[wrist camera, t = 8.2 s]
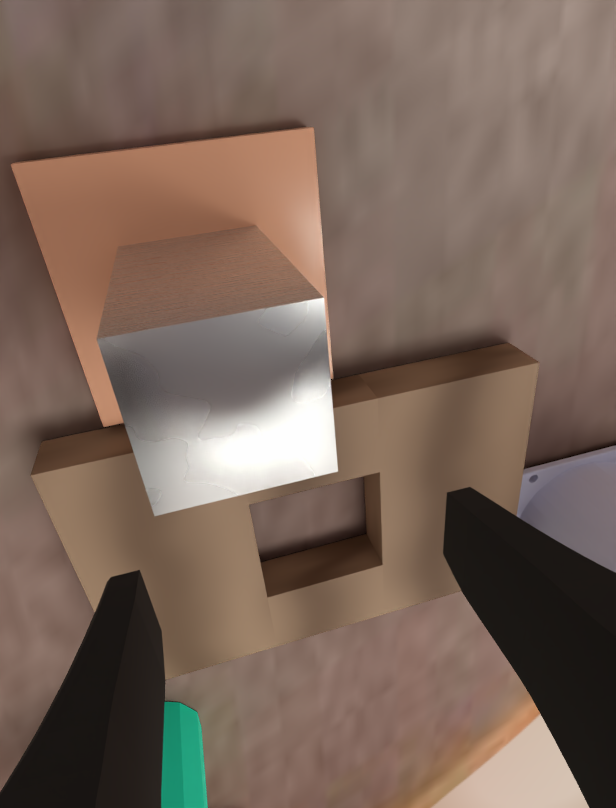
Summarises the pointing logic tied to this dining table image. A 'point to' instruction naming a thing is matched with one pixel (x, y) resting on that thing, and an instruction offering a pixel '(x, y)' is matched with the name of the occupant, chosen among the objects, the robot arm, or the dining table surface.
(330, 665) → the dining table surface
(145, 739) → the robot arm
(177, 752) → the candle
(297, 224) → the terracotta tile
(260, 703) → the dining table surface
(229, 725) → the dining table surface
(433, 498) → the wooden board with hole
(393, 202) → the dining table surface
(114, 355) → the steel plug
